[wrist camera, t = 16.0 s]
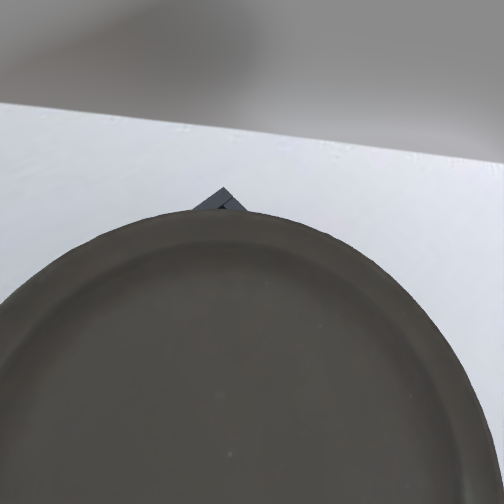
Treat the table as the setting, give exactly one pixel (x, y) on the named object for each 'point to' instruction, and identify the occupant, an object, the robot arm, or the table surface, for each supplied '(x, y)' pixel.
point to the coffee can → (232, 375)
